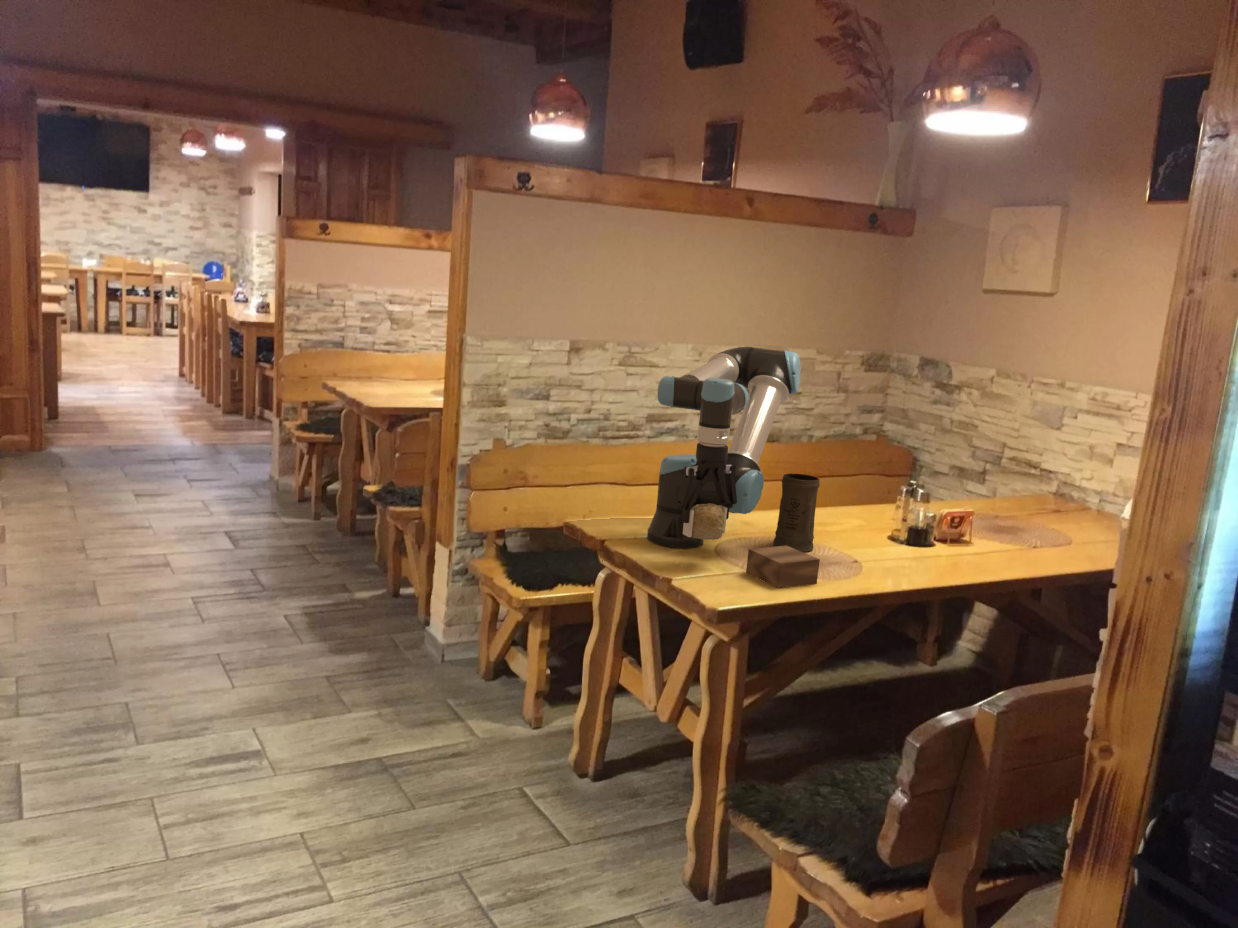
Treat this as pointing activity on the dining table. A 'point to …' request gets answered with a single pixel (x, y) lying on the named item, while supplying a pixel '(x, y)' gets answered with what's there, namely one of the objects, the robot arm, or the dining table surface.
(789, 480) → the beer stein
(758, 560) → the walnut block
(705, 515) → the brown cratered rock
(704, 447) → the robot arm
